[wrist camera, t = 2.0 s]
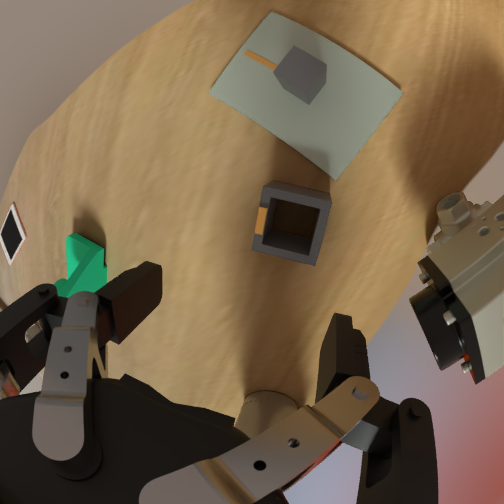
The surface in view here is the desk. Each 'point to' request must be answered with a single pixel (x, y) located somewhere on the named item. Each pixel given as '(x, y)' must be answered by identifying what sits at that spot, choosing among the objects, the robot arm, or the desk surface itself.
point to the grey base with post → (306, 92)
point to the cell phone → (12, 234)
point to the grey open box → (285, 242)
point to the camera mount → (82, 267)
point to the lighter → (32, 332)
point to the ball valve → (465, 287)
